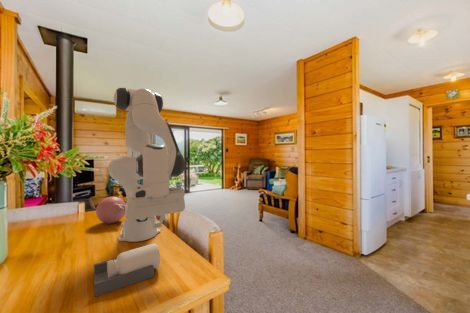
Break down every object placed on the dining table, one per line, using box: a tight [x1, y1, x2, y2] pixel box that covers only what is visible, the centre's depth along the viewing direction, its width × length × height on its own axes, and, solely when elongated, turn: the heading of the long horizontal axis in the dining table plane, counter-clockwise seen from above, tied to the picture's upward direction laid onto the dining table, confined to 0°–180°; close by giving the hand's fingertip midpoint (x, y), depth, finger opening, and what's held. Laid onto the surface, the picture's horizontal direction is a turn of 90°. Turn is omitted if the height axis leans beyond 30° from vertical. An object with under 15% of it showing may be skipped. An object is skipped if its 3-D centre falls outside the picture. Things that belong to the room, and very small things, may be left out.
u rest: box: [93, 258, 155, 297], centre depth 68 cm, size 13×16×4 cm
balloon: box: [95, 196, 126, 224], centre depth 121 cm, size 15×20×15 cm
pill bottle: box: [106, 243, 161, 278], centre depth 69 cm, size 8×8×15 cm
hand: (157, 227), depth 75 cm, fingers closed
